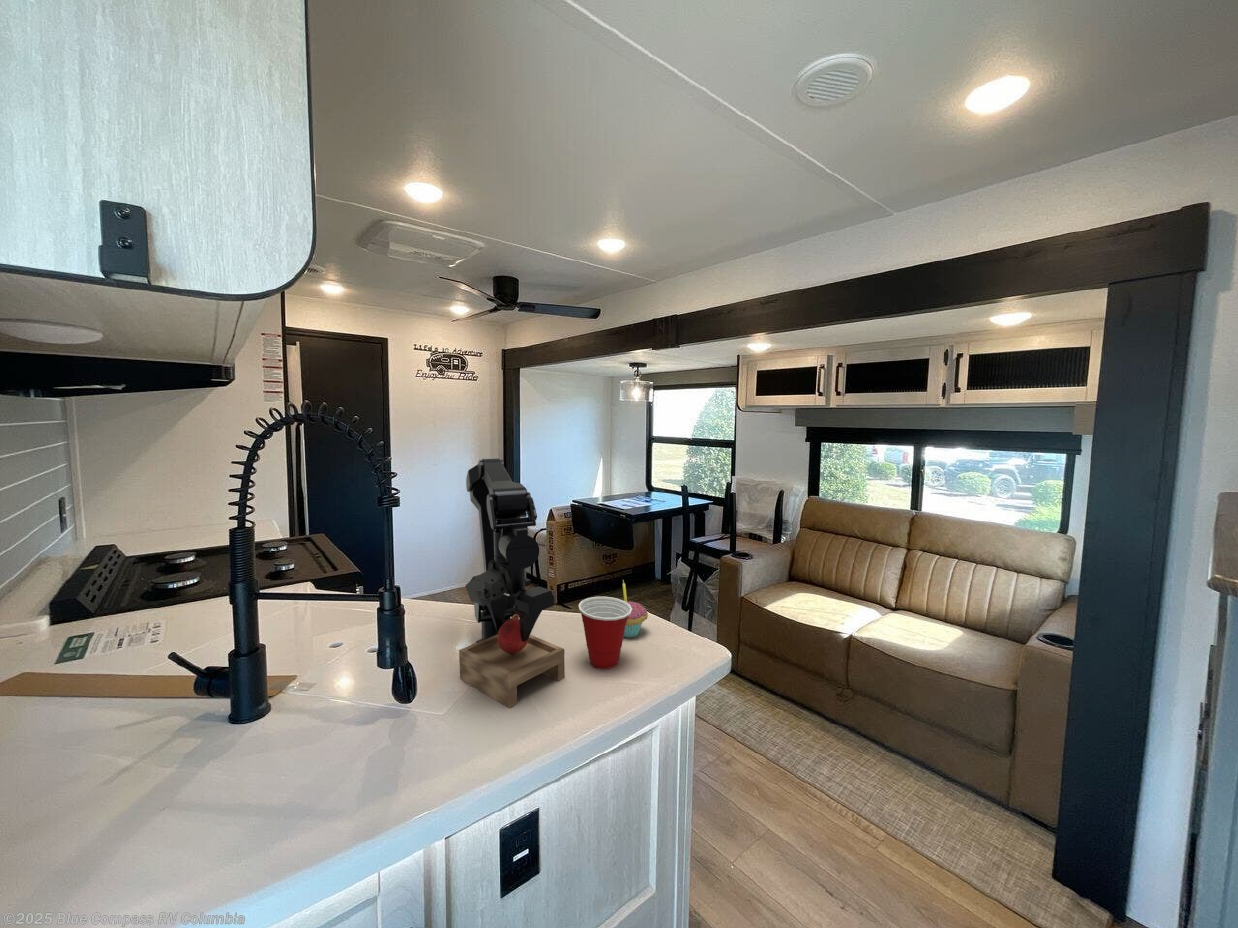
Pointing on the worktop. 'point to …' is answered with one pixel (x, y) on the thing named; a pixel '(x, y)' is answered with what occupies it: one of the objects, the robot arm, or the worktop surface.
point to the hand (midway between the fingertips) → (511, 635)
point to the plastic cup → (604, 629)
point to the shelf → (509, 666)
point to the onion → (511, 636)
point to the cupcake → (634, 617)
